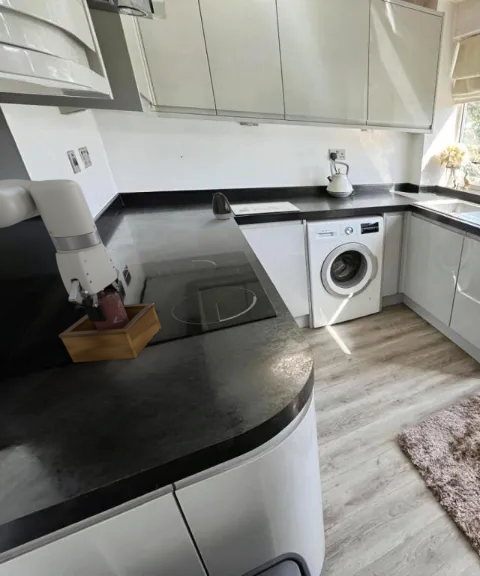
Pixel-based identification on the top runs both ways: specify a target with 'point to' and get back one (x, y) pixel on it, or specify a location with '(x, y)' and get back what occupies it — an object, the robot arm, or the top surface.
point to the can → (111, 310)
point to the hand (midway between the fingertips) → (108, 312)
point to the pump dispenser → (221, 206)
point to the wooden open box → (112, 336)
